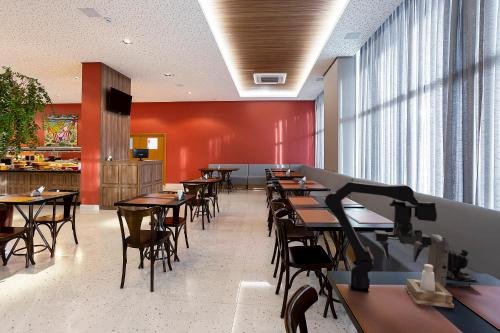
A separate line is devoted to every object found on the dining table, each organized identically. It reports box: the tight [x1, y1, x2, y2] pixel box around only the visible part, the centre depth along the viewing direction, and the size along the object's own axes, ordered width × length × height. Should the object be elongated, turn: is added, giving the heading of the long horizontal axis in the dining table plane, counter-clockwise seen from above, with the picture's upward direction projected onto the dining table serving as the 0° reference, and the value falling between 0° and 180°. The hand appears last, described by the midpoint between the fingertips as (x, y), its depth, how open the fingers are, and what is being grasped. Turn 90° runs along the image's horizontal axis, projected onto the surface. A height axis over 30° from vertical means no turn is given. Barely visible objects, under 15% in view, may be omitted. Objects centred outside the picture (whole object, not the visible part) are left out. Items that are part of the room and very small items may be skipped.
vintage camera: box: [427, 232, 480, 288], centre depth 116 cm, size 10×16×20 cm, turn 79°
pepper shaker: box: [420, 263, 435, 291], centre depth 105 cm, size 5×5×11 cm
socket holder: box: [404, 278, 455, 309], centre depth 105 cm, size 12×12×4 cm
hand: (400, 260), depth 106 cm, fingers open, 9 cm apart
